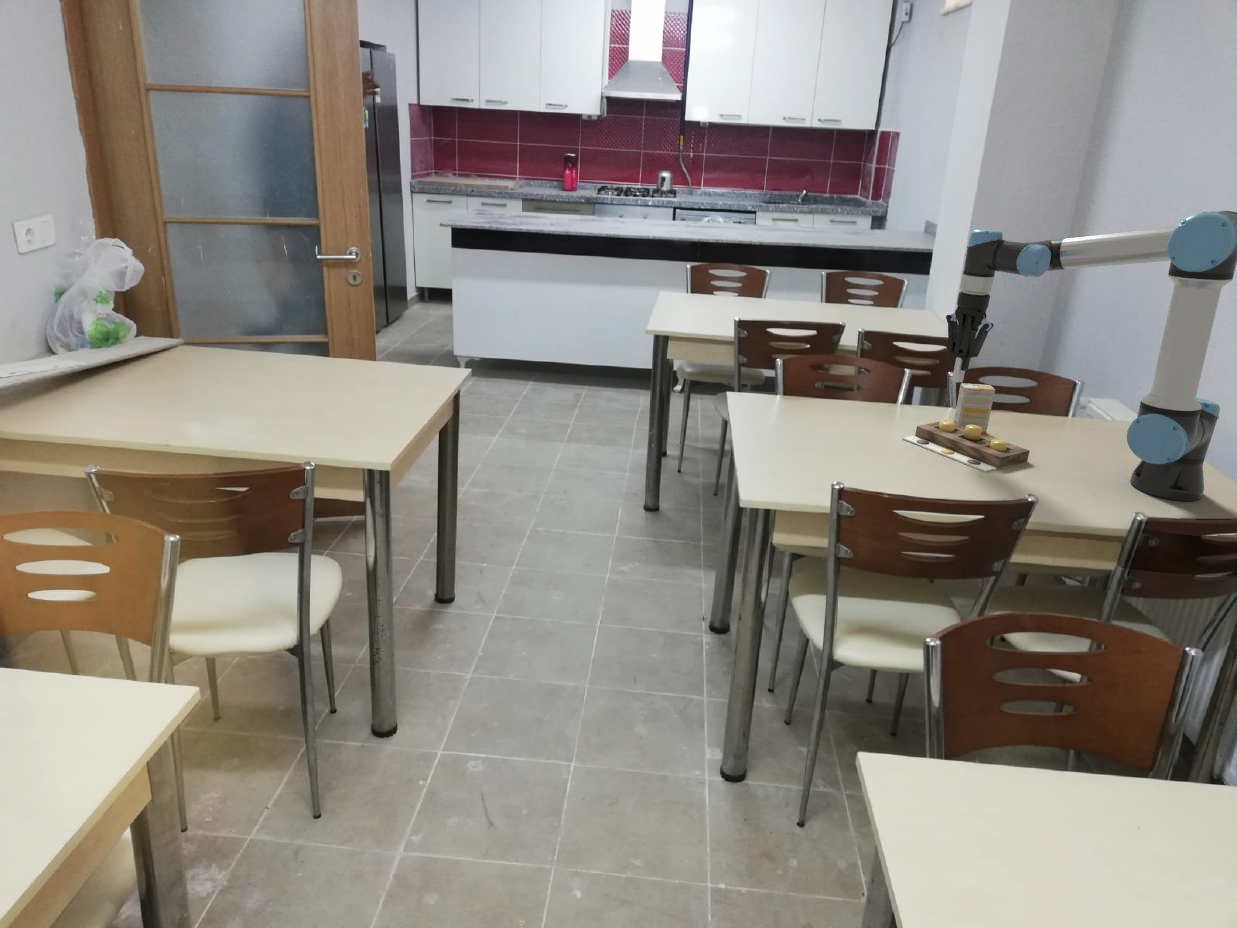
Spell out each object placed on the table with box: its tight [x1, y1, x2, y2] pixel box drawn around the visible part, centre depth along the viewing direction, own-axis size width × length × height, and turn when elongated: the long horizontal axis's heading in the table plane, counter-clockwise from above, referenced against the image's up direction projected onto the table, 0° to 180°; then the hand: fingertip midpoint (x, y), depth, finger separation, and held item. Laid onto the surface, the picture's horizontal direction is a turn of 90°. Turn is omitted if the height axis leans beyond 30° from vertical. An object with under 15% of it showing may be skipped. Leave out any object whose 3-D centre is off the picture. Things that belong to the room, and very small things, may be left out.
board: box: [914, 420, 1030, 470], centre depth 230 cm, size 26×12×3 cm, turn 33°
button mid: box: [964, 425, 982, 440], centre depth 229 cm, size 4×4×3 cm
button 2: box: [990, 438, 1009, 452], centre depth 223 cm, size 4×4×3 cm
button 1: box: [939, 420, 955, 433], centre depth 236 cm, size 4×4×3 cm
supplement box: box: [953, 382, 996, 435], centre depth 243 cm, size 8×5×13 cm, turn 84°
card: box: [901, 435, 997, 473], centre depth 226 cm, size 26×4×1 cm, turn 32°
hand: (957, 381), depth 231 cm, fingers closed
